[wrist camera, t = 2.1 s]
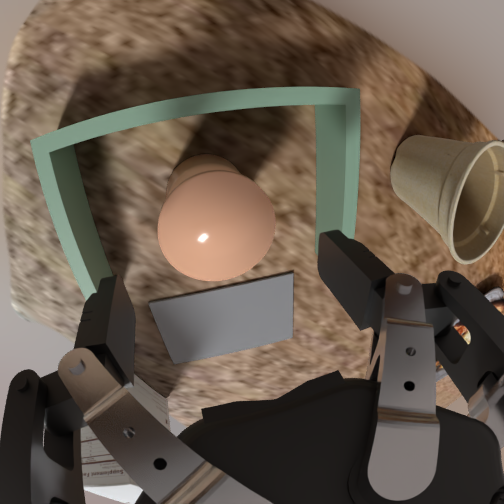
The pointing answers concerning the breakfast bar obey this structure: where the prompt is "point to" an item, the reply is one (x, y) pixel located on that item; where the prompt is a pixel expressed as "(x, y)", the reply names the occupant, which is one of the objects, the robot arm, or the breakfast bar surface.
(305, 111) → the breakfast bar surface
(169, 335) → the slate mat
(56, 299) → the breakfast bar surface
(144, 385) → the supplement box
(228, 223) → the tan round knob
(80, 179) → the green u-shaped frame
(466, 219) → the flower pot
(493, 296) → the food plate
